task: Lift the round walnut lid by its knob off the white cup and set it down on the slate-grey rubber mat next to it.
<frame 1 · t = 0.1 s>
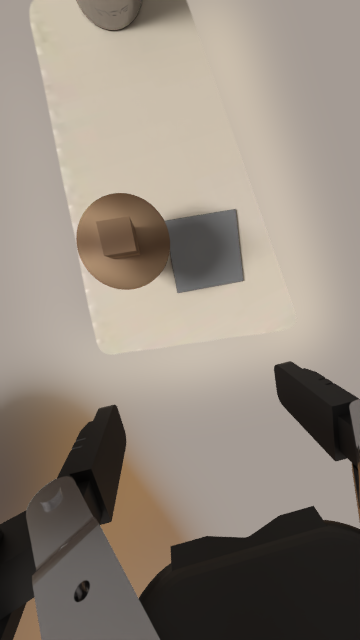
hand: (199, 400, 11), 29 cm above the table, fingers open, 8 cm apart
lid: (125, 244, 27), point 10 cm above the table, touching white cup
mat: (205, 252, 38), on the table
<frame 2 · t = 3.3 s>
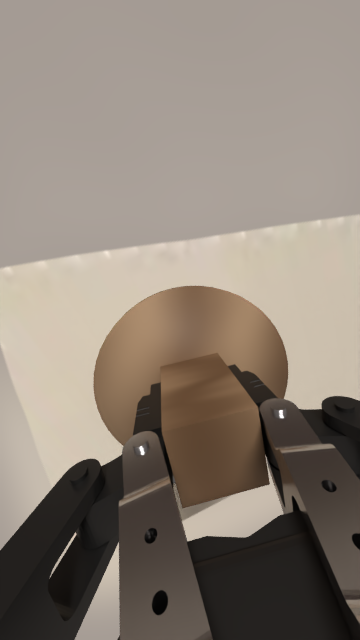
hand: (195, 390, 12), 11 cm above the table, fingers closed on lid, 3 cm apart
lid: (192, 378, 13), point 10 cm above the table, touching white cup, gripper
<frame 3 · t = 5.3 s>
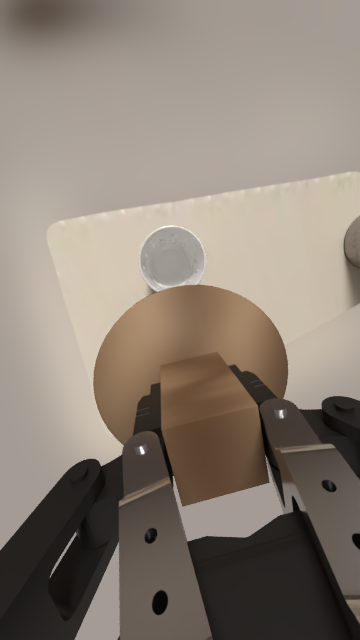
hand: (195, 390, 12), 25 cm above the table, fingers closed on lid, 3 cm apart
lid: (192, 377, 13), point 24 cm above the table, touching gripper
white cup: (169, 265, 35), on the table
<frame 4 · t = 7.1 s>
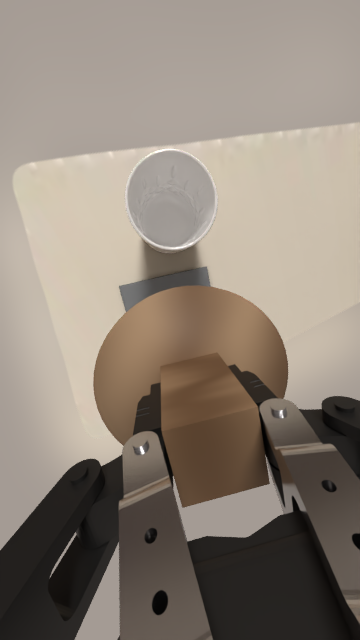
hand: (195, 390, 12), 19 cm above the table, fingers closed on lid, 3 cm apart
lid: (192, 378, 13), point 18 cm above the table, touching gripper
mat: (173, 318, 31), on the table
white cup: (167, 227, 28), on the table
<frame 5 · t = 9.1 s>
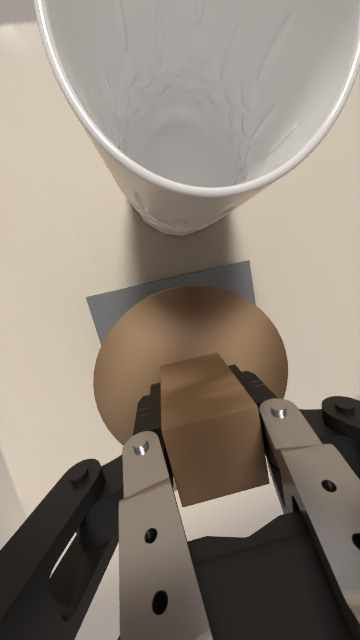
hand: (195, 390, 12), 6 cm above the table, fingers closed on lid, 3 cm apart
lid: (192, 378, 13), point 4 cm above the table, touching gripper
mat: (185, 353, 17), on the table
white cup: (177, 185, 15), on the table
when the fingers open (3 cm above the table, at t = 10.7 s): lid stays where it is, resting on mat.
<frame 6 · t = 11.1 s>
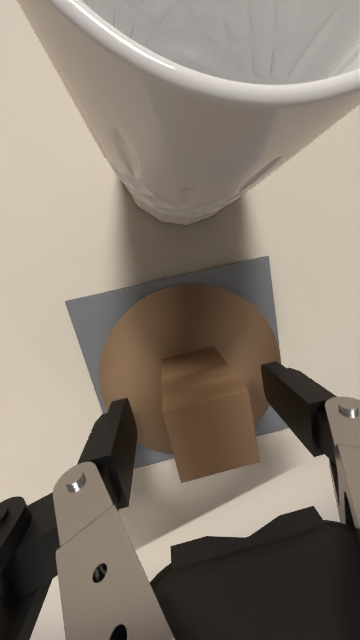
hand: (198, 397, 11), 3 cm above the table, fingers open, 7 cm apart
lid: (191, 371, 14), resting on mat
mat: (189, 369, 14), on the table
white cup: (179, 160, 12), on the table
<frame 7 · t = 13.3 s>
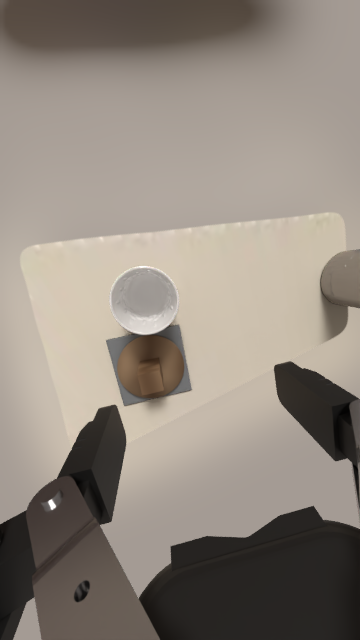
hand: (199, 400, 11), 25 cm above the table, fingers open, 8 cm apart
lid: (151, 366, 37), resting on mat
mat: (151, 365, 37), on the table
white cup: (147, 293, 35), on the table
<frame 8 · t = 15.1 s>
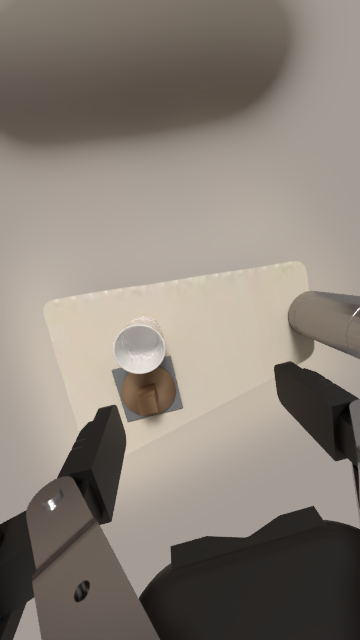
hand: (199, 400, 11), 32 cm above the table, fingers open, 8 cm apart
lid: (148, 389, 45), resting on mat
mat: (148, 389, 45), on the table
white cup: (143, 332, 43), on the table
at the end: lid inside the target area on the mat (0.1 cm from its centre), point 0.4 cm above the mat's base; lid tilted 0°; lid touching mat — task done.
